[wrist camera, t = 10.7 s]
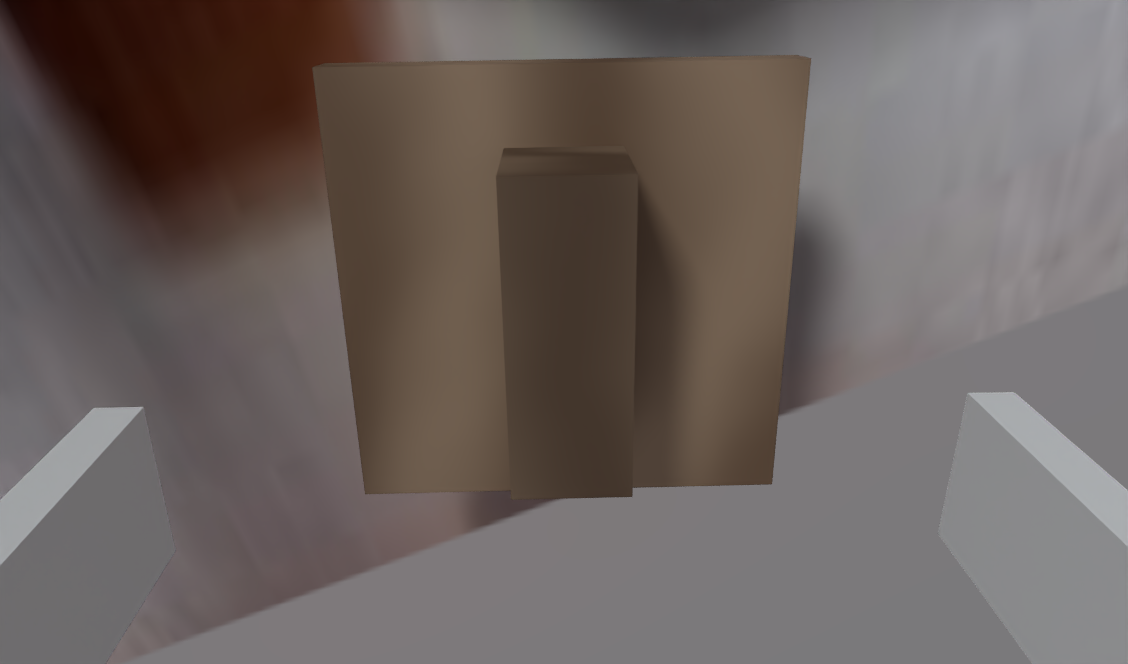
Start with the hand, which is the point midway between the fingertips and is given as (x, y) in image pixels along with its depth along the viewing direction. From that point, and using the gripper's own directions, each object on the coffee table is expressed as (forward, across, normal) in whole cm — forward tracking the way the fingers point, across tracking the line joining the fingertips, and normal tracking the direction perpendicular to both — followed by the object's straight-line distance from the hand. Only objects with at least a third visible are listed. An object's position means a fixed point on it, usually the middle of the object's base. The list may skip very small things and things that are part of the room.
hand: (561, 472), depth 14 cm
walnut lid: (+10, 0, 0) cm, 11 cm away
